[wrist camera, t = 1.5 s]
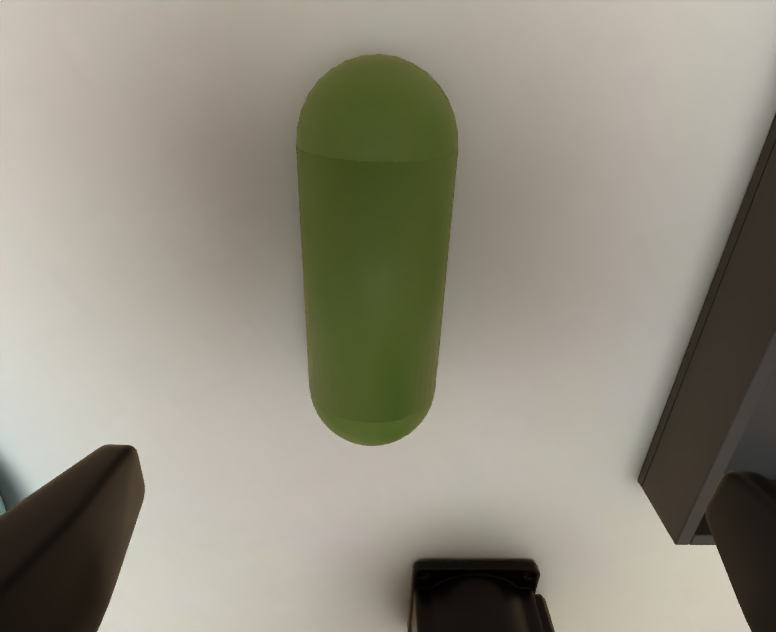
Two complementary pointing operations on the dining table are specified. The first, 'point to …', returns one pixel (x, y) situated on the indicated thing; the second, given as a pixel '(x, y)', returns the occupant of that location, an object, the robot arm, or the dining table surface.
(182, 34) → the dining table surface
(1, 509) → the teapot
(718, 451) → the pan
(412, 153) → the squash
